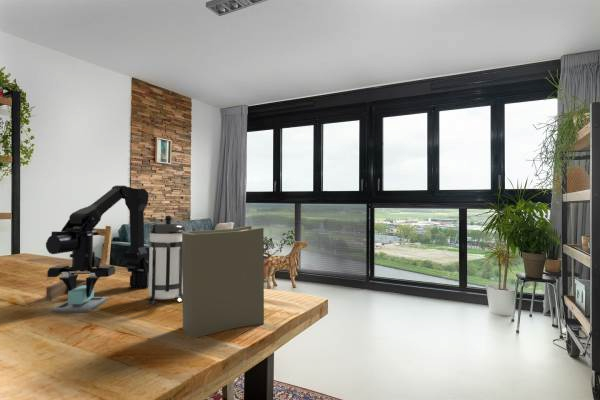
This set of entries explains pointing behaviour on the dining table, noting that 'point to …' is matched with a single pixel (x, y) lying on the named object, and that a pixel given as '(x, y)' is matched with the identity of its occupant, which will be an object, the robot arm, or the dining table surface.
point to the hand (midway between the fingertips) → (81, 297)
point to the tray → (80, 305)
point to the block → (79, 295)
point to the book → (222, 279)
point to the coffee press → (165, 261)
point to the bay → (61, 289)
